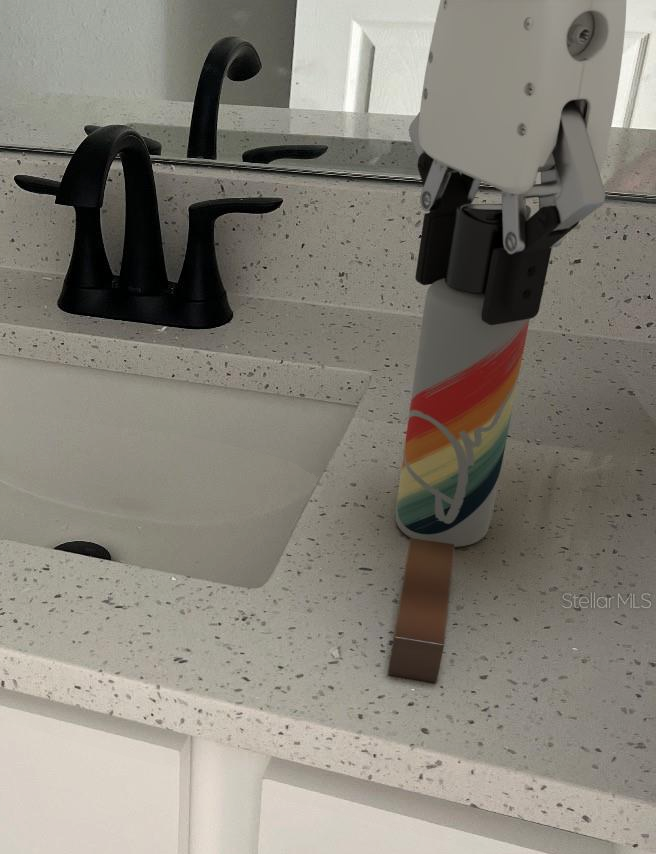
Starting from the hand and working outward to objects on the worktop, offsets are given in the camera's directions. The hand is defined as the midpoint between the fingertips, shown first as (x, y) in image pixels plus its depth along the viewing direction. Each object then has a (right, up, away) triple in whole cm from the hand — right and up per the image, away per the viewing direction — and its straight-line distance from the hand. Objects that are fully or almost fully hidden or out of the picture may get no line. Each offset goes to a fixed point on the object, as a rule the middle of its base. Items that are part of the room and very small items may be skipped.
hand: (474, 296), depth 66 cm
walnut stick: (-3, -18, 0) cm, 19 cm away
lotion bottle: (+1, -12, +9) cm, 15 cm away
